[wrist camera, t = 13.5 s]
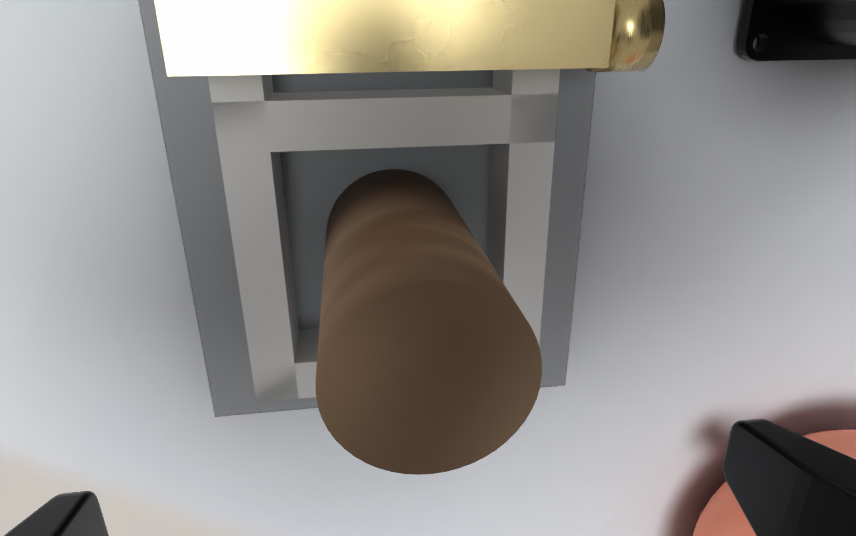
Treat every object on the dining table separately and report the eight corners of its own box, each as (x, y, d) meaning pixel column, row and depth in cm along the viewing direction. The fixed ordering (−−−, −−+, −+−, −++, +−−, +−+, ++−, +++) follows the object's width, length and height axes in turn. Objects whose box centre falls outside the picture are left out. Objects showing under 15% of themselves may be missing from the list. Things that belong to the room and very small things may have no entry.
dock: (608, -219, 15) (669, -277, 12) (555, 369, 21) (587, 420, 19) (107, -243, 13) (45, -314, 10) (221, 398, 20) (201, 458, 17)
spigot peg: (459, 166, 17) (550, 271, 10) (457, 290, 18) (534, 462, 11) (321, 171, 16) (305, 287, 9) (331, 298, 18) (324, 485, 11)
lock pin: (628, -12, 14) (673, -19, 12) (619, 68, 14) (660, 74, 12) (179, -12, 12) (150, -19, 11) (192, 76, 13) (168, 84, 11)
